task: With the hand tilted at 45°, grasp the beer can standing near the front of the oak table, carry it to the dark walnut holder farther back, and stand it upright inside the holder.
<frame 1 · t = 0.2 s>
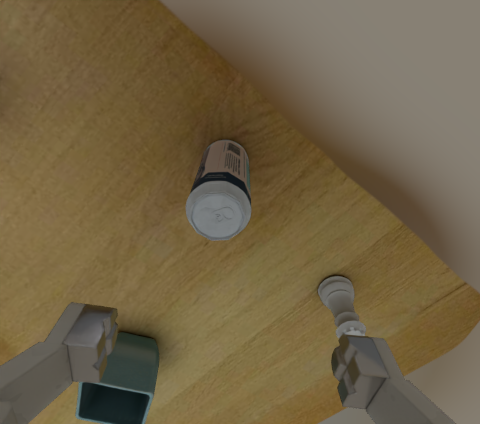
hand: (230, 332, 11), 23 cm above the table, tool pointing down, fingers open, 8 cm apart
rook chess piece: (334, 286, 41), on the table
beer can: (225, 160, 33), on the table
flower pot: (135, 344, 46), on the table
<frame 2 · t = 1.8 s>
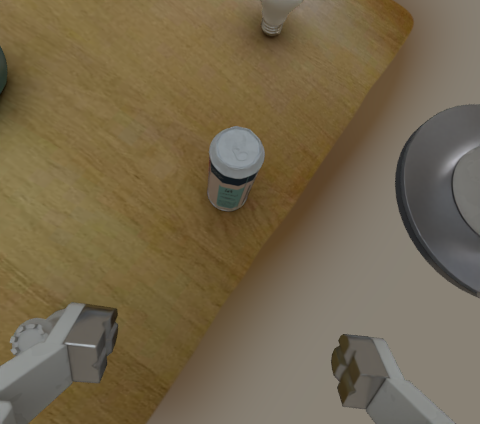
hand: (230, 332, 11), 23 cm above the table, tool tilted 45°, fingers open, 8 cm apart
light bulb: (269, 33, 45), on the table
rook chess piece: (70, 330, 32), on the table
beer can: (227, 193, 38), on the table
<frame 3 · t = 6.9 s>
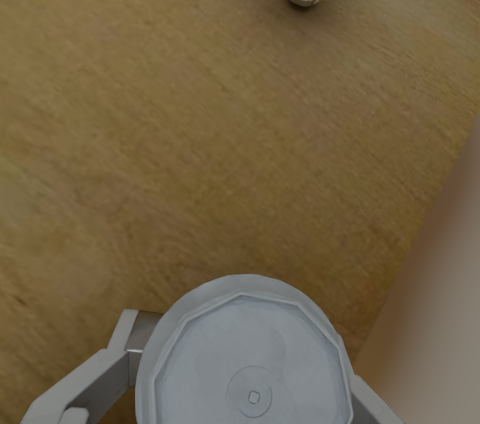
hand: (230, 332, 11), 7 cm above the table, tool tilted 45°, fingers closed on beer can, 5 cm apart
light bulb: (298, 2, 25), on the table
beer can: (218, 331, 18), on the table, touching gripper
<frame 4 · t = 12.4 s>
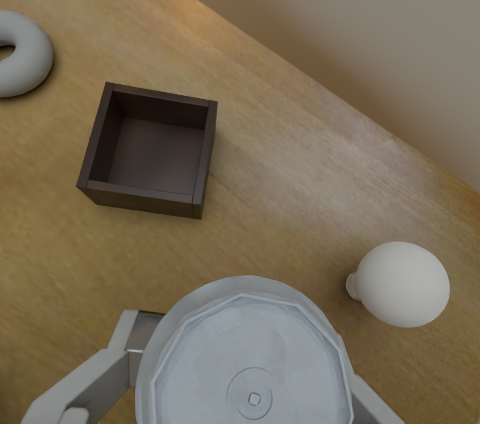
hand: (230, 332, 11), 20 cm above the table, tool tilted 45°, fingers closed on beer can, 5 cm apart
light bulb: (353, 286, 32), on the table
holder: (159, 164, 33), on the table
donut: (11, 65, 34), on the table
beer can: (219, 332, 18), point 13 cm above the table, touching gripper
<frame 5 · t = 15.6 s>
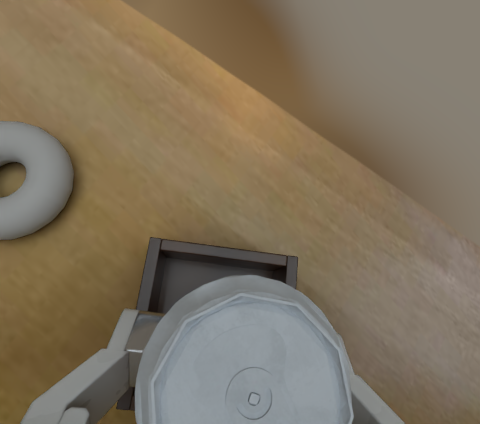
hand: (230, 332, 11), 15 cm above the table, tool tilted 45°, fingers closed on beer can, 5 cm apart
holder: (212, 320, 26), on the table
donut: (19, 187, 27), on the table
beer can: (218, 331, 18), point 8 cm above the table, touching gripper
when the fingers open (7 cm above the table, at t = 18.2 s): beer can stays where it is, resting on holder.
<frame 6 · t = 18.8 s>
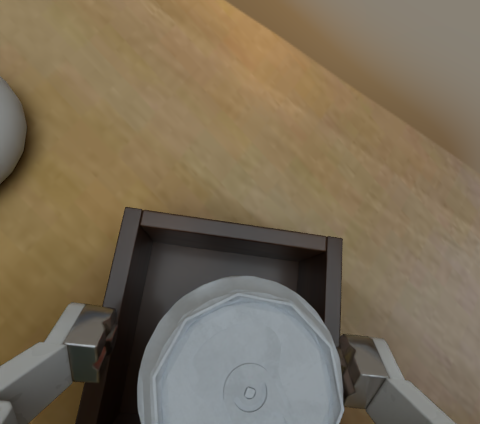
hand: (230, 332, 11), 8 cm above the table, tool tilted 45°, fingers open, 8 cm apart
holder: (216, 328, 19), on the table
beer can: (218, 330, 18), point 1 cm above the table, touching holder
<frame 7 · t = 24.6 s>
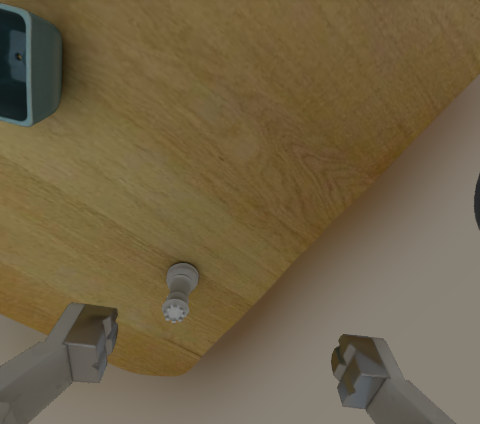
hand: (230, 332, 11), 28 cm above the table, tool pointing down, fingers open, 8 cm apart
rook chess piece: (183, 273, 44), on the table
flower pot: (37, 60, 32), on the table
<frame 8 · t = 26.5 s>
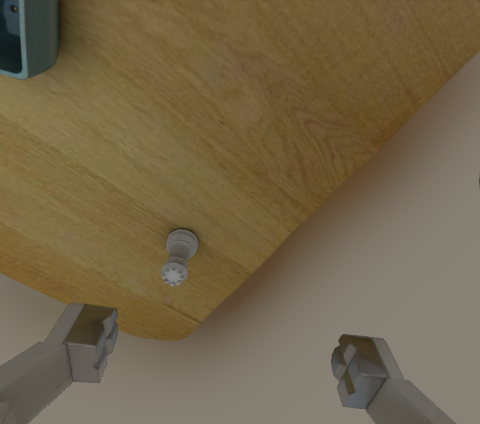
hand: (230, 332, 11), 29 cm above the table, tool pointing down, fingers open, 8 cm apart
rook chess piece: (183, 239, 45), on the table
flower pot: (33, 13, 31), on the table
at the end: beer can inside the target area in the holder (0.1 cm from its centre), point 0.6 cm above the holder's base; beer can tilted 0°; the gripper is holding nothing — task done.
